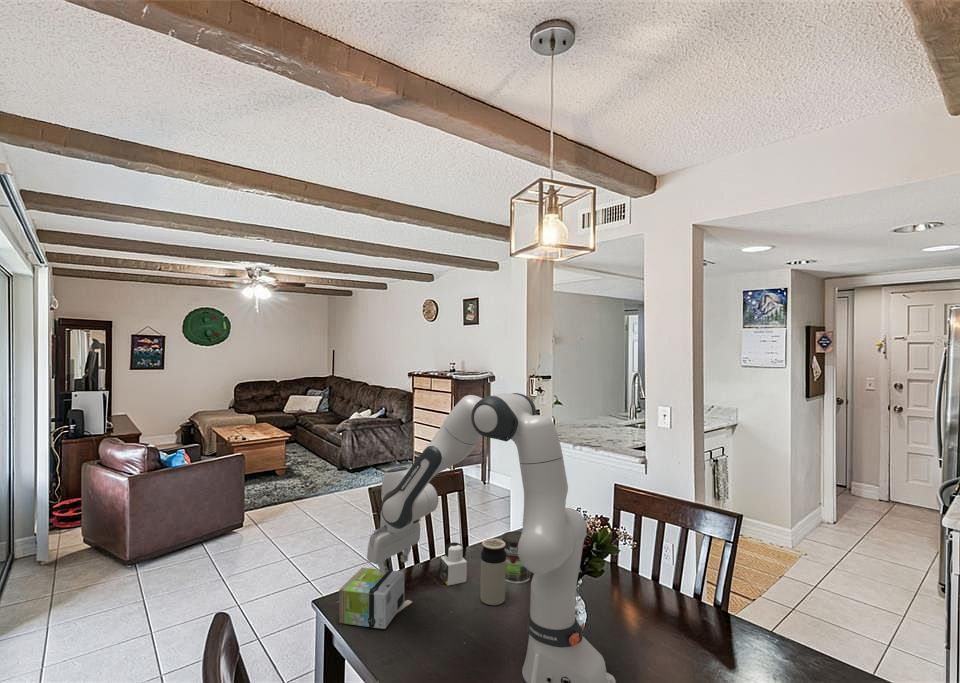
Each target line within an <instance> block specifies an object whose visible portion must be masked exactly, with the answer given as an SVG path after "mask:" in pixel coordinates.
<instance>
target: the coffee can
mask: <svg viewBox="0 0 960 683" xmlns="http://www.w3.org/2000/svg"><path fill="white" fill-rule="evenodd" d="M521 534H522V531H515V530H512V531H507V532H504V533H503V534H502V535H501V540H502V541H504V542H505V544H506V545H505V547H504V550H505V552H506V580H505V582H507V583H510V584H517V585H518V584H525V583H527V582H529V581H530V579H531V572H530V571H529V570H527V569H526V568H525V567H524V566H523V564H522V563H521V561H520V559H519V556H518V543H519V540H520V537H521Z"/></svg>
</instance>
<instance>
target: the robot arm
mask: <svg viewBox="0 0 960 683" xmlns="http://www.w3.org/2000/svg"><path fill="white" fill-rule="evenodd" d="M482 437H485V438H489V439H492V440H499V441H502V442H508V441H510V440H511V441H513V442H514V444H515V445H516V449H517V455H518V461H519V468H520V476H521V480H522V488H523V512H522V513H523V515H522V517H523V519H522V528H521V532H522V534H521V537H520V540H519V543H518V556H519V559H520V561H521V563H522V564H523V566H524V567H525V568H526V569H527V570H529V571H530V573H531V574H533V575H532V578H531V583H530V598H529V600H530V602H529V603H530V604H529V608H530V609H529V613H528V618H527V619H528V620H527V635H528V641H527V642H528V643H527V647H526V648H527V649H526V655H525V659H524V662H523V666H522V669H521V673H522V677H523V679H524V681H525V683H617V681H616V679H615V677H614V676H613V675H612V674H611V673H609V672H607V667H606V661H605V659H604V656H603V655H602V654H601V653H600V652H599V651H598V650H597V649H596V648H595V647H594V646H593V645H592V644H591V643H590V642H589V641H588V640H587V639H586V638H585V636H583V631H584V629H585V622H583V623H582V624H580V623H579V622H578V620H577V617H576V603H577V602H576V596H577V595H576V594H577V584H578V578H579V573H580V568H581V563H582V562H581V561H582V555H583V548H584V542H585V539H586V536H587V532H588V530H587V529H588V528H587V527H588V526H587V522H586V520H585V518H584V517H583V515H582V514H581V513H580V512H579V511H577V510H576V509H574V508H571V507H566V504H567V501H566V500H567V496H568V493H569V492H568V491H569V485H568V479H567V472H566V467H565V461H564V455H563V451H562V450H563V449H562V447H561V441H560V438H559V435H558V432H557V429H556V426H555V424H554V422H553V421H552V419H551V418H549V417H547V416H544V415H541V414H540V415H539V414H537V409H536V405H535V403H534V402H533V400H532V399H531V397H529V396H527V395H525V394H522V393H519V392H515V393H514V392H512V393H507V392H504V393H503V392H502V393H498V394H497V393H496V394H494V395H489V396H486V397H483V398H482V397H480V396H477V395H474V394H468V395H464V396H463V397H462V398H461V399H460V400H459V401H458V402H457V403H456V404H455V406H454V407H453V408H451V411H450V412H449V414H448V415H447V416H446V418H445V420H444V421H443V423H442V425H441V426H440V428H439V429H438V431H437V432H436V434H435V435H434V437H433V438H432V439H431V440H430V442H429V443H428V445H427V446H426V447H425V448H424V449H423V451H422V453H420V455H419V456H418V457H417V458H416V460H415V461H414V462H413V464H412V465H411V466H410V468H409V467H406V466H405V467H404V466H403V467H402V466H400V467H399V466H398V467H393V468H390V469H388V470H386V471H384V475H383V477H382V483H381V492H380V493H381V497H380V498H381V501H382V502H381V507H380V508H381V509H380V523H379V524H380V526H379V528H377V529H374V531H373V532H372V534H371V535H370V537H369V541H368V546H367V553H366V554H367V555H366V559H367V561H368V562H369V563H371V564H375V565H377V566H378V569H379V573H380V574H382V575H383V574H385V573H387V570H388V566H386V565H385V563H386V561H387V560H388V559H389V558H391V557H394V556H395V555H397V554H399V553H401V552H402V554H401V555H400V562H401V563H404V564H405V563H406V562H408V561H409V555H410V552H411V549H412V547H413V546H415V545H416V544H418V543H419V542H420V538H421V523H420V522H421V519H422V518H424V517H426V516H428V515H430V514H431V513H433V512H435V511H436V510H437V508H438V504H439V494H438V492H437V489H436V488H435V486H434V485H433V484H432V483H430V482H431V480H432V479H433V478H435V476H437V475H438V474H439V473H441V472H443V471H444V470H446V469H448V468H451V467H452V466H454V465H457V464H458V463H460V462H461V463H462V461H463V460H465V459H466V458H467V457H468V456H469V455H470V454H471V453H472V451H474V449H475V447H476V446H477V445H478V443H479V441H480V440H481V438H482Z"/></svg>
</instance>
